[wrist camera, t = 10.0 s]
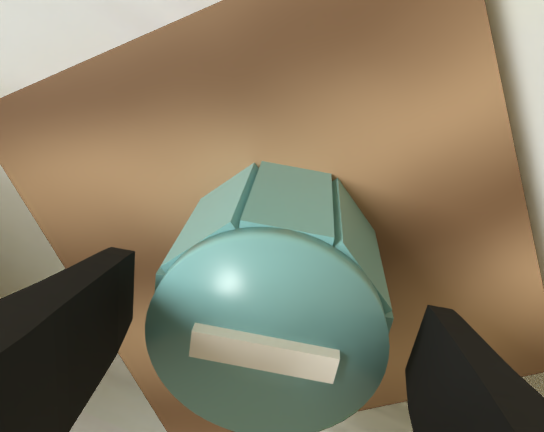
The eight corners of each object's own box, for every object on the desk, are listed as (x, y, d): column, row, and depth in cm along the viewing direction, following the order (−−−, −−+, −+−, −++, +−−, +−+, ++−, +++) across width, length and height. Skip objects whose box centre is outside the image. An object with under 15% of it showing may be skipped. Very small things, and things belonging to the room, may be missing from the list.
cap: (187, 305, 16) (135, 423, 12) (202, 150, 14) (146, 223, 9) (348, 335, 16) (357, 466, 12) (390, 184, 14) (423, 275, 9)
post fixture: (-11, 105, 15) (-117, 140, 11) (452, -98, 12) (510, -140, 8) (184, 428, 20) (153, 525, 16) (546, 348, 17) (609, 446, 13)
